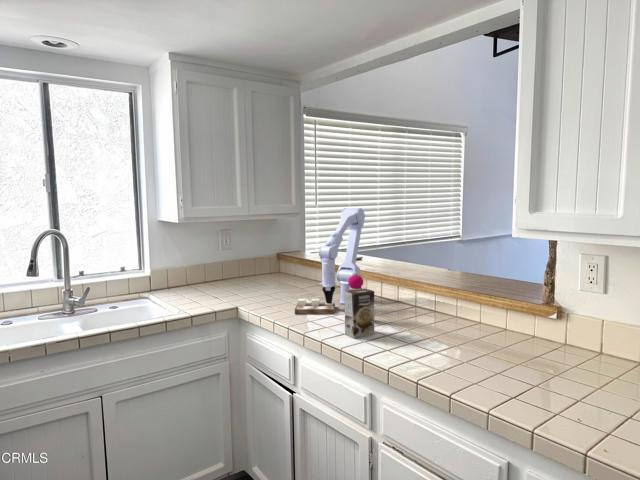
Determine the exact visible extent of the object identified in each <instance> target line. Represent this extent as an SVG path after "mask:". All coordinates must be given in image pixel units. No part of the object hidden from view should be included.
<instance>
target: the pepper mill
mask: <svg viewBox="0 0 640 480" xmlns="http://www.w3.org/2000/svg"><path fill="white" fill-rule="evenodd" d="M353 274H354V276H351V277H350V278H349V280H348V284H349V286H350V290H357V289H363V287H362V286H363V285H364V278H363V277H362V276H361V275H360V276H358V273H357V272H354V273H353Z"/></svg>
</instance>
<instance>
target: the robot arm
mask: <svg viewBox="0 0 640 480" xmlns="http://www.w3.org/2000/svg"><path fill="white" fill-rule="evenodd" d="M365 219H366V214H365V212H364V209H363V208H362V207H361V208H360V207H359V208H347V207H346V208H342V210H341V212H340V220H339V223H338V225H337V226H336V229H335V231H334V232H333V231H332V232H331V234H330V235H329V237H328V239H327V241H326V243H325V244H324V245H322V246H321V247H320V249H319V252H318V256H319V258H320V263H321V278H322V282H319V285H320V286H322V289H321V290H322V292H323V294H324V298H325V303H327V304H328V303H332V302H333V297H334V293H335V291H336V285H337V283H336V279H337V281H338V283H339V285H340V299H339V304H340V305H345V291H349V290H350V286H349V284H348V280H349V278H350V277H351V276H354V274H353V273H354V272H357V273H358V276H360V277H361V273H360V272H361V268H360V267H359V266H358V264H356V263H357V258H358V257H357V256H358V251H359V246H360V240H361V234H362V229H363V227H364V224H365ZM348 228H349V235H348V241H347V246H346V251H345V256H344V257H345V258H344V262H342V263H340V265H339V266H338V270H337V272H336V259H337V257H338V254H339V253H338V252H339V247H340V245H341V244H342V242H343V240H344V239H343V235H344V233H346V231H347V229H348Z"/></svg>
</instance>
